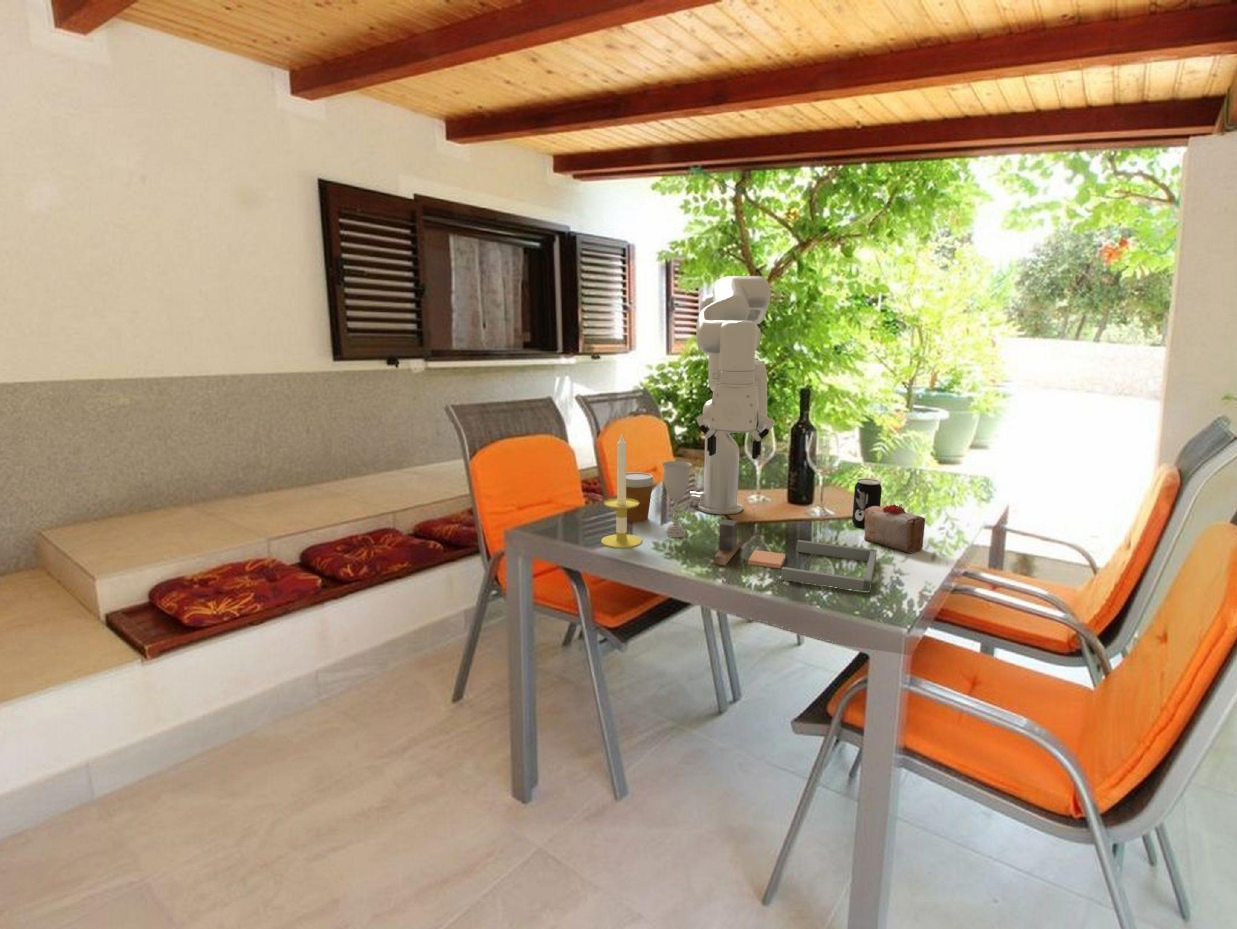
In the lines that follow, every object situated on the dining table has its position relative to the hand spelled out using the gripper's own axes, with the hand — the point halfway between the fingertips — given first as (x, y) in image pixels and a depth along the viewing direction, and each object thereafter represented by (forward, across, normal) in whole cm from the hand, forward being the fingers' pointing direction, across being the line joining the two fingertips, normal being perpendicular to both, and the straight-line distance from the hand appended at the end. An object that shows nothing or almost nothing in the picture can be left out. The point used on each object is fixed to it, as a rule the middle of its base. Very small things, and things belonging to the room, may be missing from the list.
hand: (733, 456), depth 149 cm
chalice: (+23, -16, +10) cm, 30 cm away
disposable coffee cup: (+23, -30, +18) cm, 42 cm away
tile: (+24, +8, 0) cm, 25 cm away
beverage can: (+23, +26, +37) cm, 51 cm away
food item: (+23, +34, +24) cm, 47 cm away
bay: (+23, +22, 0) cm, 32 cm away
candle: (+23, -26, -1) cm, 35 cm away
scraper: (+23, 0, 0) cm, 23 cm away
